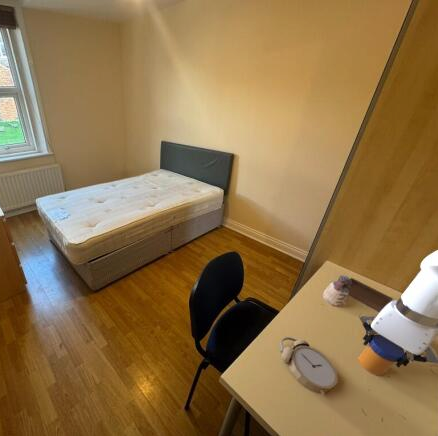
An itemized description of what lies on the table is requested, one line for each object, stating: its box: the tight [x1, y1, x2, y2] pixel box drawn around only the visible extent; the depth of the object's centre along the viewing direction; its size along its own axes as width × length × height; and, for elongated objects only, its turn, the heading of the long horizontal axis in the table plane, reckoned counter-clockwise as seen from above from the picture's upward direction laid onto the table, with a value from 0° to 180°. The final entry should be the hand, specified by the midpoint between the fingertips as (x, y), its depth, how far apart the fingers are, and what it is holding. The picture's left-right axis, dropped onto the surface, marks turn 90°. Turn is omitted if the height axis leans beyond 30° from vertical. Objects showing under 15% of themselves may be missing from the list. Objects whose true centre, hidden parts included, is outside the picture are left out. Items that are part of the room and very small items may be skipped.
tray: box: [348, 277, 394, 313], centre depth 90 cm, size 13×9×2 cm
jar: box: [357, 343, 396, 377], centre depth 66 cm, size 6×6×10 cm
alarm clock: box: [280, 336, 341, 397], centre depth 68 cm, size 11×5×15 cm
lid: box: [368, 334, 405, 363], centre depth 64 cm, size 7×7×2 cm
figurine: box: [322, 275, 353, 308], centre depth 87 cm, size 7×7×12 cm
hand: (381, 352), depth 65 cm, fingers closed on lid, 6 cm apart
